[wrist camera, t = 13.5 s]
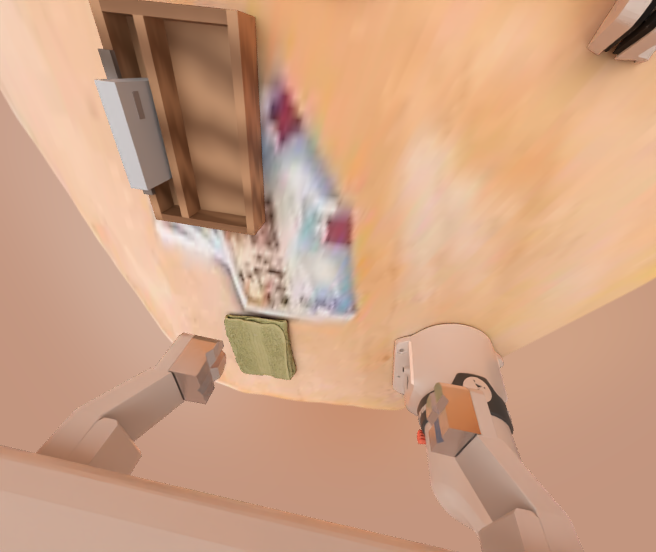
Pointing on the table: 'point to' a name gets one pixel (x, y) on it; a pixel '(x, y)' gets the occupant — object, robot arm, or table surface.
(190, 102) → the wooden tray
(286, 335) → the washcloth
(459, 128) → the table surface
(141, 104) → the rectangular block
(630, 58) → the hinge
